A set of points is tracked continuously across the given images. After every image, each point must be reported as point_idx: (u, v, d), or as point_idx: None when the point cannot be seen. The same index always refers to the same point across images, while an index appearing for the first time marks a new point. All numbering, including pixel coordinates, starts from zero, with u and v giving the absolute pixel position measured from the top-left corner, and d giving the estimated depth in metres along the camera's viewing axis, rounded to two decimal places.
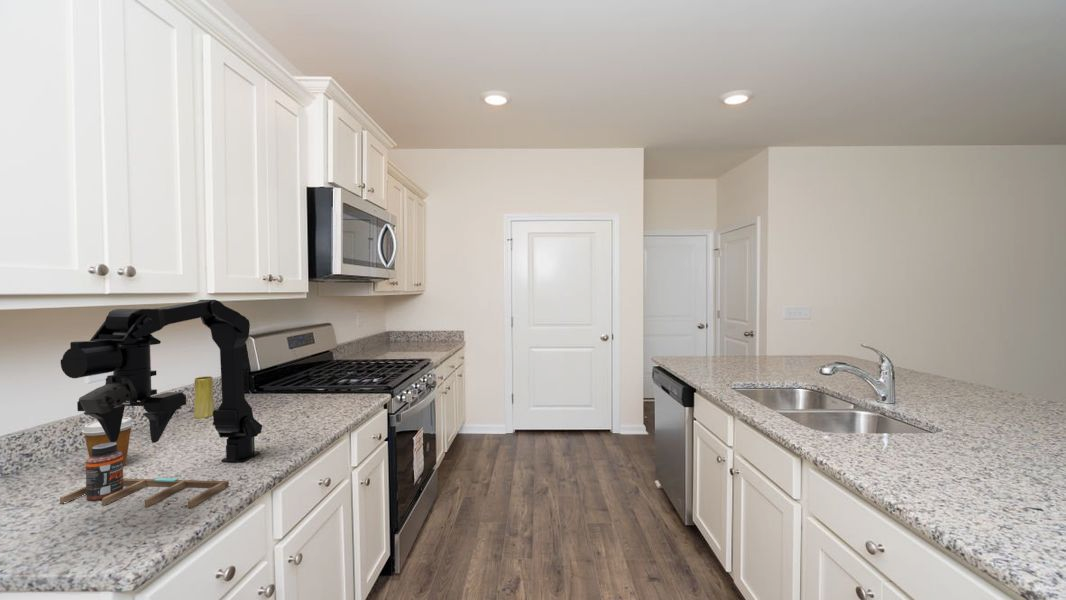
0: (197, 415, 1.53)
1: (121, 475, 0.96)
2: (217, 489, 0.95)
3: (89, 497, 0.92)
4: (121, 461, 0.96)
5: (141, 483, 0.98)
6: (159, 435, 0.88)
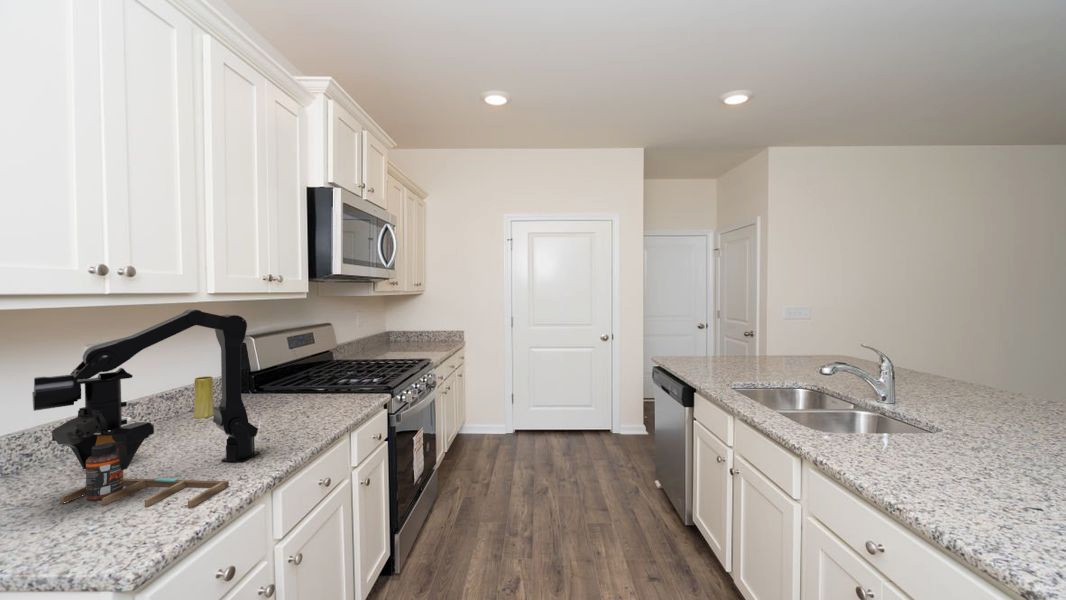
0: (197, 415, 1.53)
1: (121, 475, 0.96)
2: (217, 489, 0.95)
3: (89, 497, 0.92)
4: None
5: (141, 483, 0.98)
6: (128, 462, 0.95)
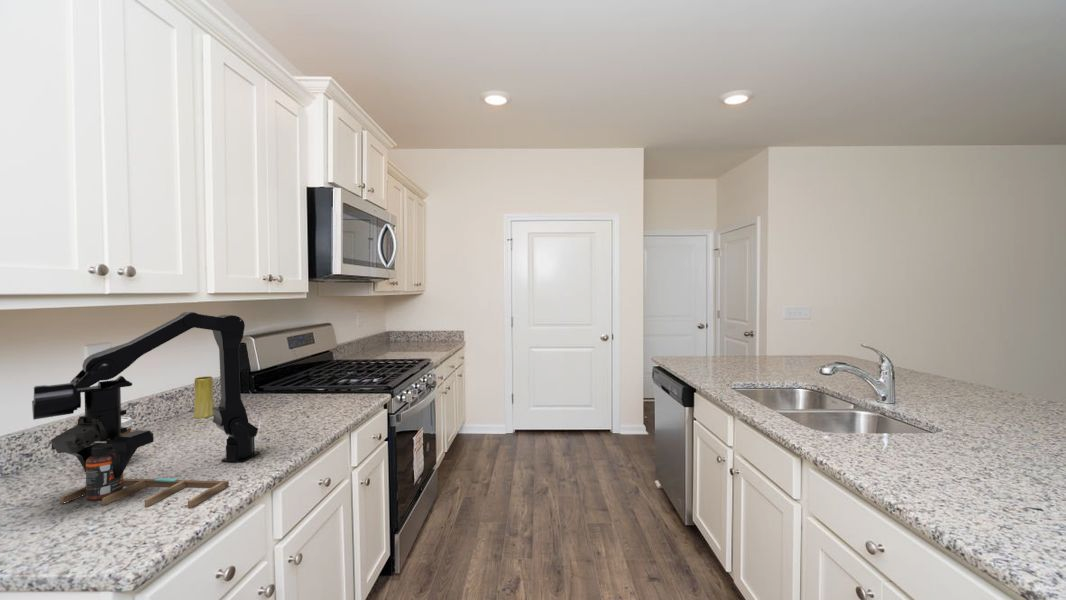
0: (197, 415, 1.53)
1: (121, 475, 0.96)
2: (217, 489, 0.95)
3: (89, 497, 0.92)
4: None
5: (141, 483, 0.98)
6: (121, 470, 0.95)
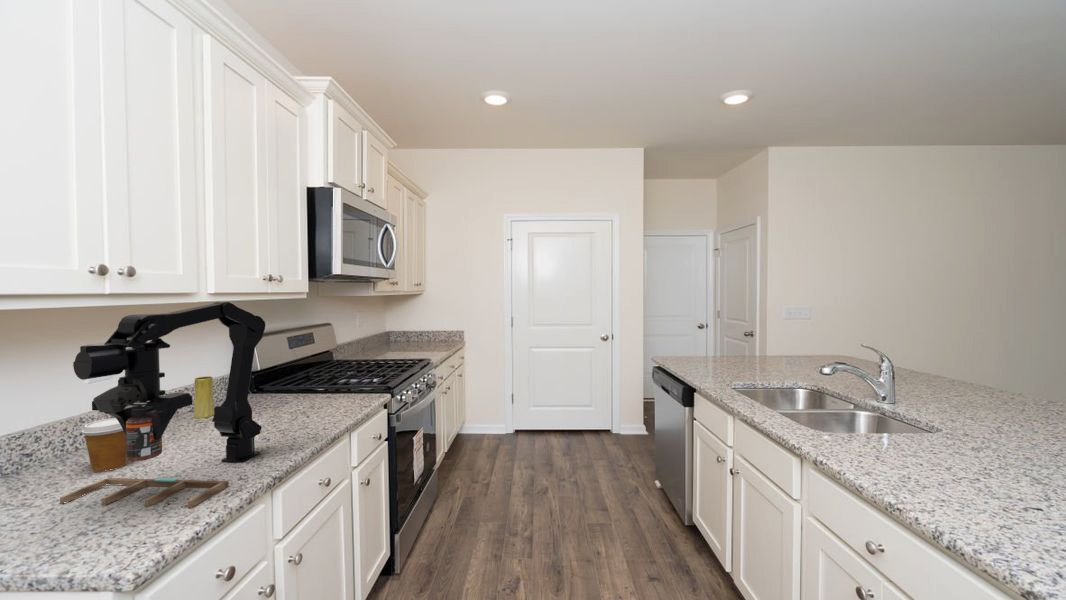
0: (197, 415, 1.53)
1: (160, 438, 0.95)
2: (217, 489, 0.95)
3: (130, 458, 0.91)
4: None
5: (141, 483, 0.98)
6: (161, 433, 0.94)
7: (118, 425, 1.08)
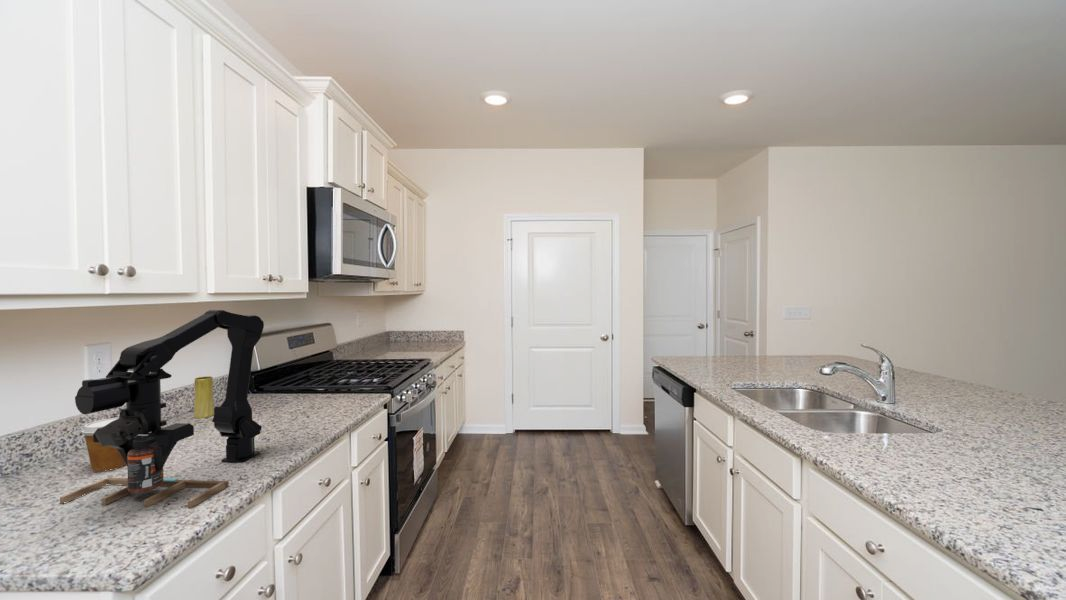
0: (197, 415, 1.53)
1: None
2: (217, 489, 0.95)
3: (131, 490, 0.91)
4: None
5: None
6: (162, 464, 0.94)
7: None
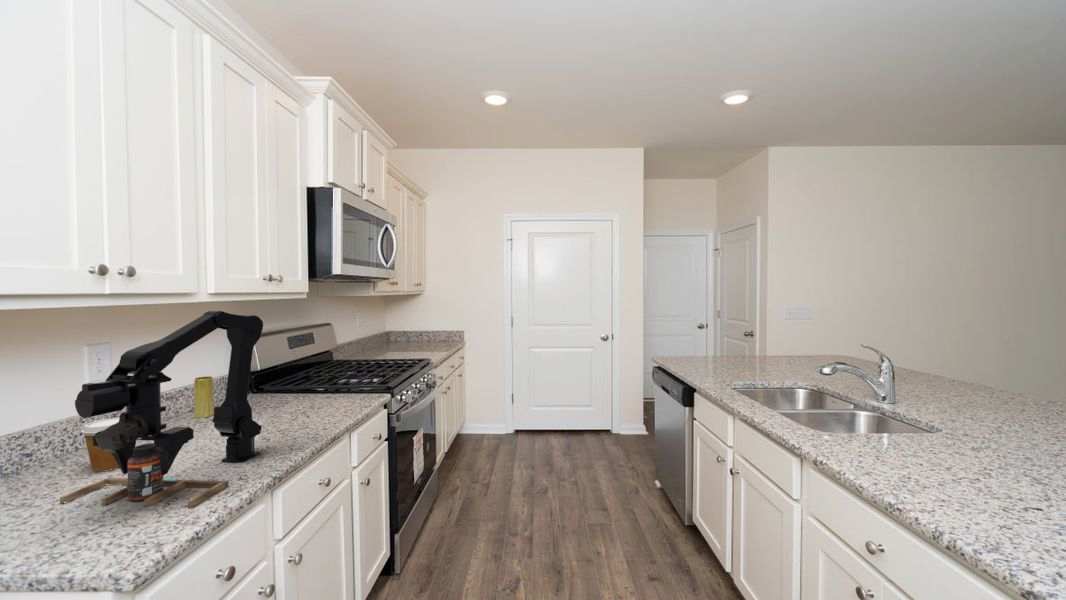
0: (197, 415, 1.53)
1: (162, 476, 0.95)
2: (217, 489, 0.95)
3: (131, 498, 0.91)
4: None
5: None
6: (168, 467, 0.94)
7: None
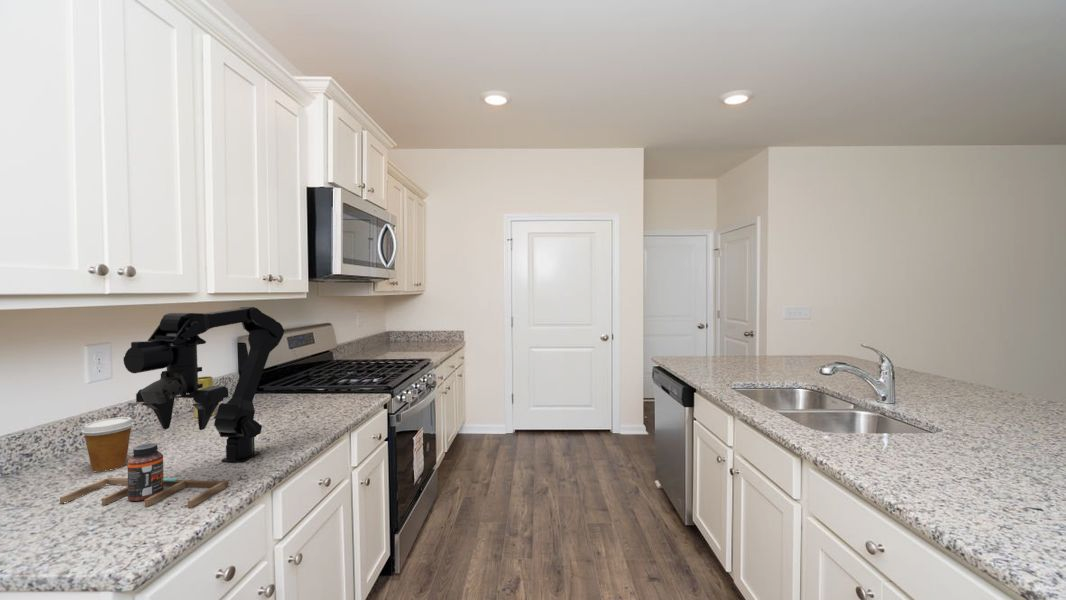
0: (197, 415, 1.53)
1: (162, 476, 0.95)
2: (217, 489, 0.95)
3: (131, 498, 0.91)
4: (162, 462, 0.95)
5: None
6: (205, 423, 1.01)
7: (118, 425, 1.08)
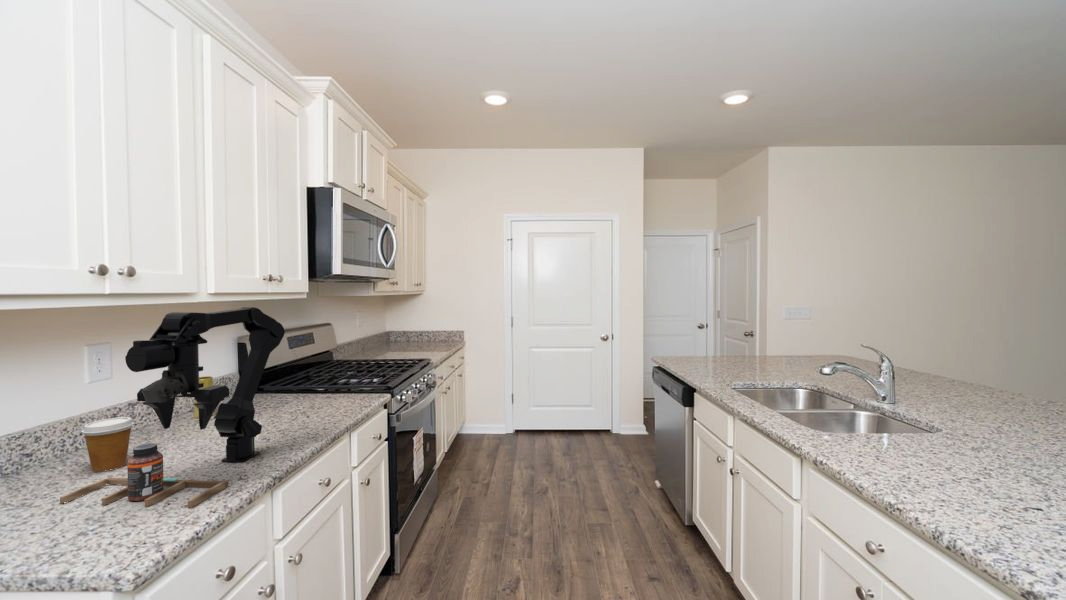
0: (197, 415, 1.53)
1: (162, 476, 0.95)
2: (217, 489, 0.95)
3: (131, 498, 0.91)
4: (161, 462, 0.95)
5: None
6: (206, 423, 1.01)
7: (118, 425, 1.08)
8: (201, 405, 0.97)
